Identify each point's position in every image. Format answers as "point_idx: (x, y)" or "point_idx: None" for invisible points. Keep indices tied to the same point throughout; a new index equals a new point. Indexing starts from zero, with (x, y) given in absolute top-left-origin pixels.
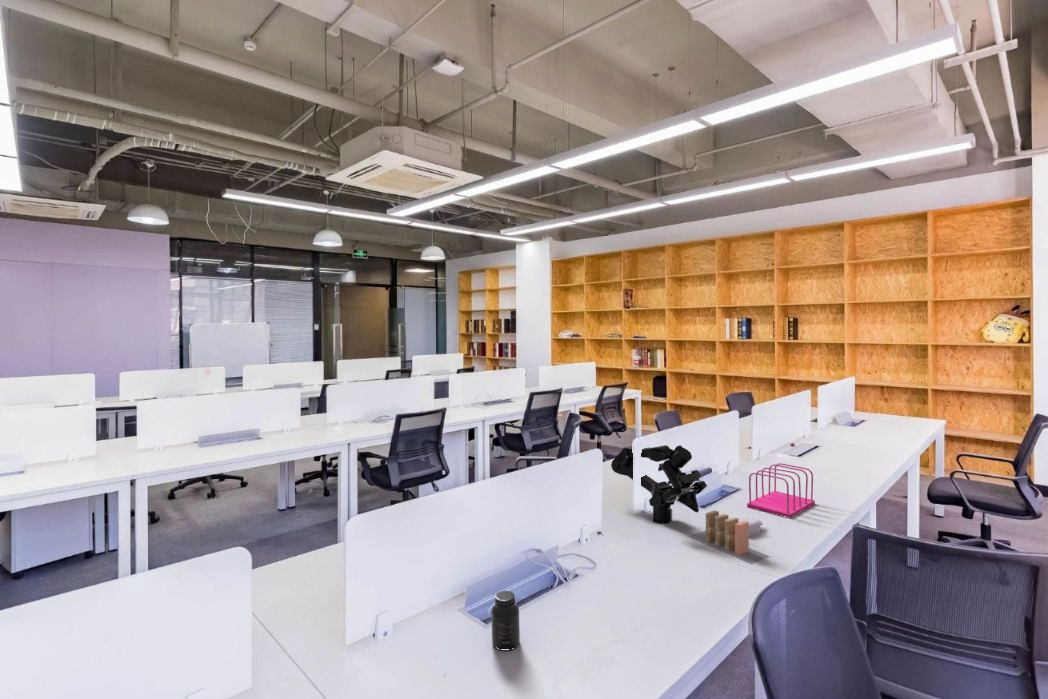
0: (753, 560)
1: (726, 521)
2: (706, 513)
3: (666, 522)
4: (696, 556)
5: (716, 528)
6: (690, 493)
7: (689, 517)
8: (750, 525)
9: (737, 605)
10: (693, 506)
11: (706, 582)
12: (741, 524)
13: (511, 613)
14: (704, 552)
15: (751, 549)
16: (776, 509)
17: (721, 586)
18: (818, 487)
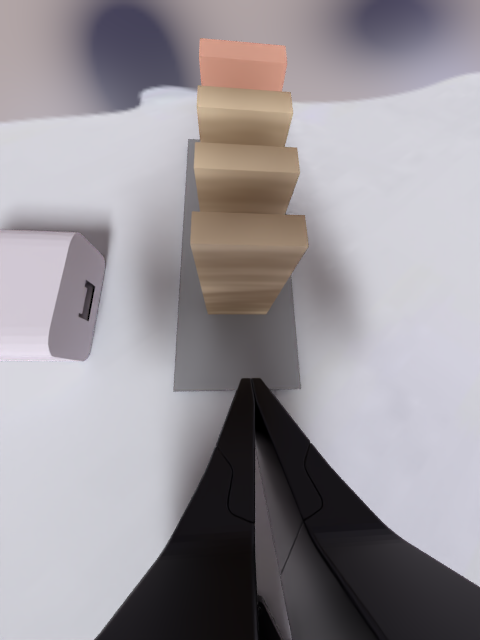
0: None
1: (291, 110)
2: (307, 240)
3: (260, 617)
4: (375, 261)
5: None
6: (369, 608)
7: (50, 624)
8: (27, 230)
9: (443, 89)
10: (286, 417)
11: (446, 162)
12: (264, 45)
13: None
14: (331, 266)
15: (189, 188)
16: None
17: (425, 137)
18: None
